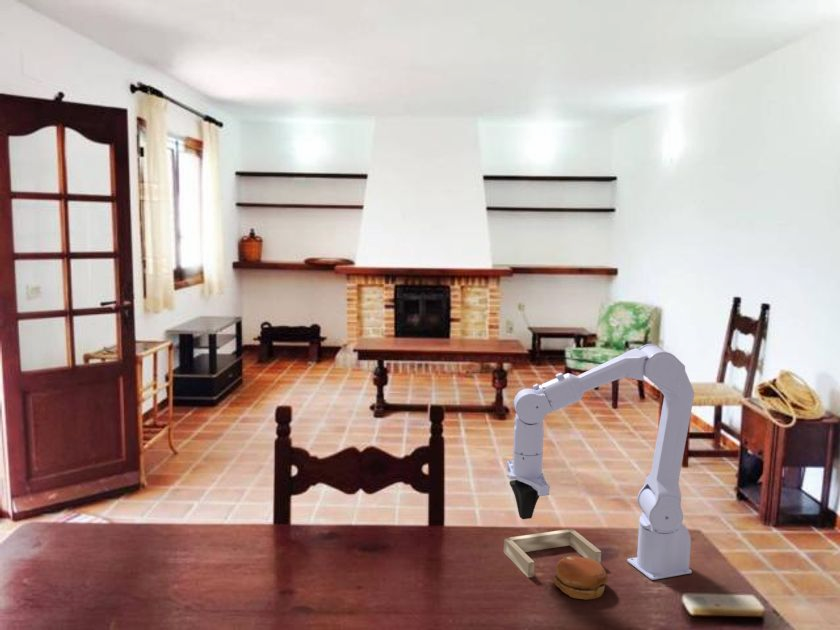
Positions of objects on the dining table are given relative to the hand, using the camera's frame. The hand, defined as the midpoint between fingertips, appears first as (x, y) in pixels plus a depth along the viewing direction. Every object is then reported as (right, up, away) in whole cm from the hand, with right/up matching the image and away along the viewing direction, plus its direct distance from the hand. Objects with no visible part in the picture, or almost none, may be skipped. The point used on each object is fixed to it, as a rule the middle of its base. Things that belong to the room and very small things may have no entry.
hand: (525, 517), depth 133 cm
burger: (+9, -11, -7) cm, 16 cm away
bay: (+6, -9, +2) cm, 11 cm away
